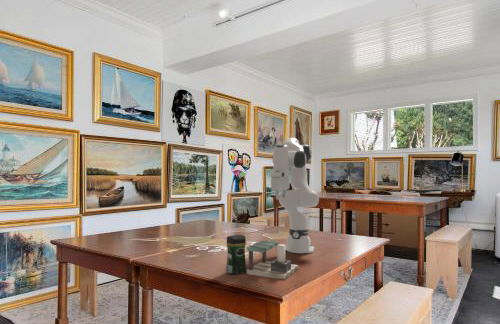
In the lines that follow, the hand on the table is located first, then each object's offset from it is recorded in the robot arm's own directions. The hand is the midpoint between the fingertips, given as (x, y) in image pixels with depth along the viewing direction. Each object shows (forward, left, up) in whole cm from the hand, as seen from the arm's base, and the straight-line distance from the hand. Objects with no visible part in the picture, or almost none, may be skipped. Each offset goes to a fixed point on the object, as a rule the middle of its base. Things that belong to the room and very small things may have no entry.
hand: (280, 198), depth 188 cm
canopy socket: (+15, +2, -36) cm, 39 cm away
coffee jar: (+25, -14, -36) cm, 46 cm away
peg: (+17, +7, -34) cm, 39 cm away
